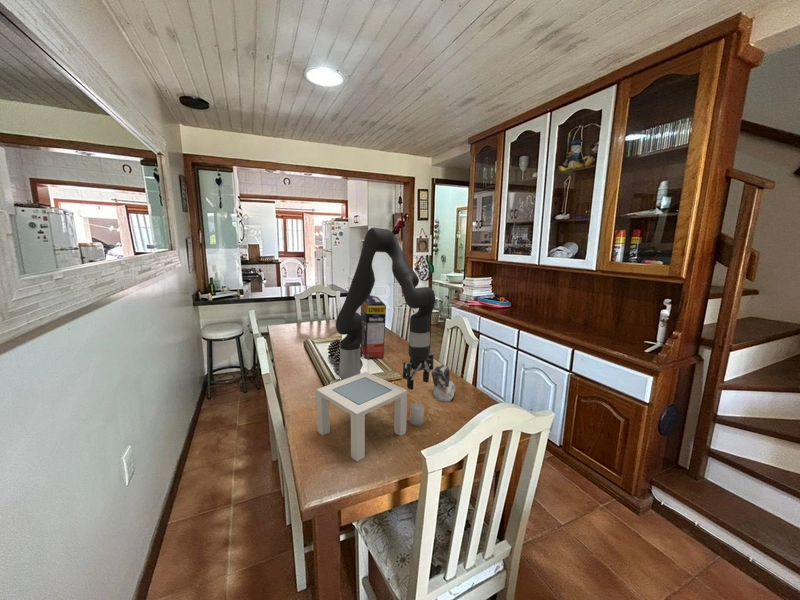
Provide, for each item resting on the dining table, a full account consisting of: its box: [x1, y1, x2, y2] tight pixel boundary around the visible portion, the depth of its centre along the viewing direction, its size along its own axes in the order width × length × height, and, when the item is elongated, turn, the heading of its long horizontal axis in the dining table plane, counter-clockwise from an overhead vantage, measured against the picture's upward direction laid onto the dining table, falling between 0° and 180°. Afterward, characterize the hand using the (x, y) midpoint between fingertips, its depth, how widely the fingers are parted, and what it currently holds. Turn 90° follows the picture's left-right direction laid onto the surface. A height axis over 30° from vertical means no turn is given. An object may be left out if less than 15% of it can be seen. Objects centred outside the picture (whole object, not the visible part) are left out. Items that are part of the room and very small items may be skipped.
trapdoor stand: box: [315, 371, 408, 462], centre depth 115 cm, size 22×22×16 cm
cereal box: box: [360, 294, 387, 360], centre depth 195 cm, size 27×11×32 cm, turn 14°
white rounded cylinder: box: [409, 403, 425, 426], centre depth 124 cm, size 5×5×6 cm
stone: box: [431, 364, 456, 403], centre depth 144 cm, size 14×10×15 cm
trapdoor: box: [333, 378, 391, 405], centre depth 114 cm, size 14×14×1 cm
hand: (418, 385), depth 122 cm, fingers open, 8 cm apart
